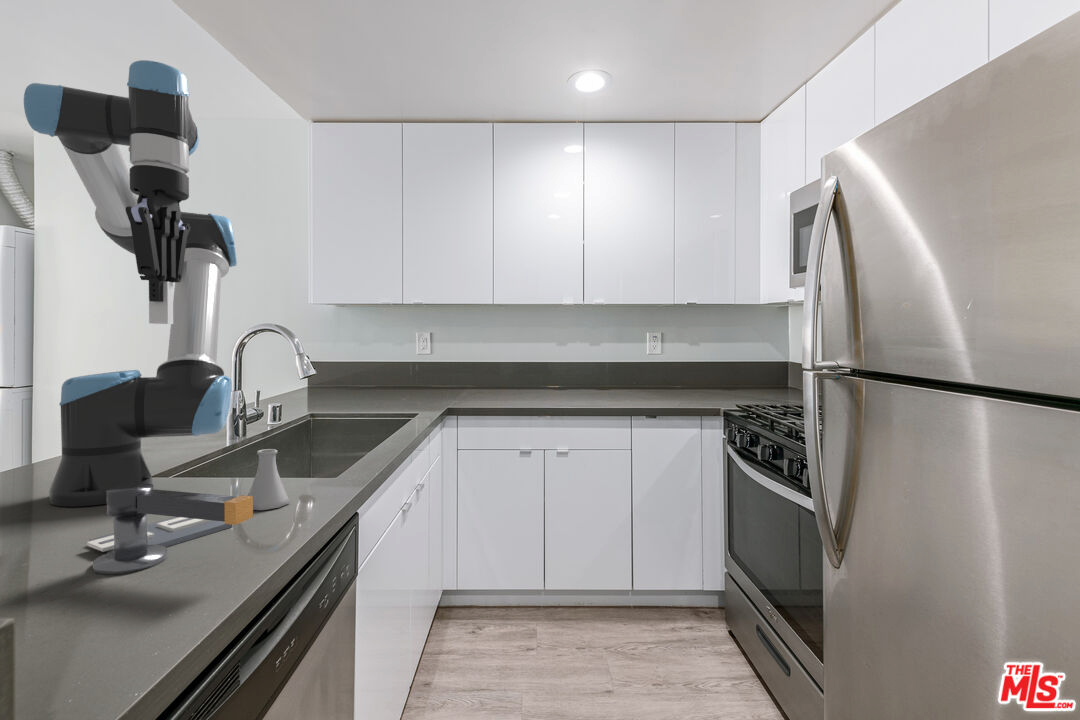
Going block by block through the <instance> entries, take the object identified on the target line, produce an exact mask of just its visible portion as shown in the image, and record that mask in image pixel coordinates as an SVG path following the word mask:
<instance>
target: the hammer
mask: <svg viewBox="0 0 1080 720" xmlns="http://www.w3.org/2000/svg"><path fill="white" fill-rule="evenodd" d="M141 513H143V514H147V515H154V516H166V517H172V518H173V517H183V518H193V519H203V520H213V521H223V522H225V524H231V525H232V526H236V525H237V526H238V524H241V523H244V522H246V521H249V520H250V519H253V518H254V510H253V496H248V495H244V494H242V495H239V496H233V495H232V496H231V495H223V494H222V495H221V494H210V493H198V492H189V491H188V492H187V491H176V490H165V489H154V485H153V483H152V484H145V483H140V484H128V485H122V486H117V487H114V488H111V489H109V490H107V504H106V516H109V517H113V518H114V517H122V516H131V515H137V514H141Z"/></svg>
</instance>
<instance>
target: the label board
mask: <svg viewBox="0 0 1080 720" xmlns="http://www.w3.org/2000/svg"><path fill="white" fill-rule="evenodd" d="M232 527H233V525H231V524H225V522H223V521H213V520H203V519H193V518H183V517H173V516H172V517H170V518H167V519H166V518H165V519H162V520H158V521H156V522H155V521H154V522H151V523H147V538H148V545H149V546H148V547H150V546H151V545H160V546H164V547H166V548H169V547H171V546H174V545H178V544H180V543H184V542H188V541H191V540H194V539H198V538H200V537H204V536H207V535H210V534H214V533H216V532H221V531H223V530H227V529H229V528H232ZM86 546H87V547H89V548H92V549H95V550H97V551H99V552H102V553H103V552H104V553H105V552H106V553H109V552H111V551H114V532H113V533H110V534H105V535H101V536H98V537H94V538H90V539H89V540H88V541H87V542H86Z"/></svg>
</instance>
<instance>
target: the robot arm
mask: <svg viewBox="0 0 1080 720" xmlns="http://www.w3.org/2000/svg"><path fill="white" fill-rule="evenodd" d="M187 79H188V78H187V77H186V75H185V74H184V73H183V72H181V70H179V69H178V68H175V67H173V66H171V65H169V64H166V63H163V62H159V61H153V60H142V59H141V60H136V61H133V62H132V63H131V64H130V66H129V68H128V78H127V80H128V81H127V84H126V86H127V89H128V97H126V96H120V95H115V94H107V93H102V92H96V91H92V90H91V91H90V90H85V89H81V88H80V89H79V88H74V87H68V86H64V85H60V84H58V85H55V84H47V83H40V82H38V83H37V82H33V83H30V84H28V85H27V86H26V88H25V90H24V95H23V108H24V113H25V114H24V115H25V118H26V120H27V123H28V125H29V126H30V128H31V129H32V130H33V131H34V132H37V133H38V134H42V135H48V136H50V137H52V138H53V137H58V139H59V141H60V143H61V145H62V146H63V149H64V151H65V152H66V154H67V156H68V158H69V159H70V162H71V163H72V166H73V167H74V169H75V170H76V173H77V175H78V177H79V178H80V180H81V182H82V184H83V186H84V187H85V190H86V191H87V193H88V194H89V198H90V199H91V201H92V202H93V204H94V206H95V210H94V211H95V212H94V213H95V214H94V215H95V220H96V222H97V224H98V225H99V227H100V229H101V230H102V232H103V233H104V234H105V235H106V236H107V237H108V238H109V240H111V241H113V243H115V244H116V245H117V246H119V247H120V248H122V249H124V250H126V251H127V252H128V253H130V254H133V255H134V257H135V263H136V268H137V272H138V274H139V278H140V280H141V281H148V322H149V324H151V325H152V324H156V325H170V329H169V332H170V333H169V340H168V350H167V360H166V361H164V362H162V363H160V364H159V366H158V367H157V369H156V375H155V376H151V377H147V376H146V377H145V376H144V377H143V376H142V373H141V372H140V370H138V369H132V370H131V369H130V370H121V371H110V372H103V373H102V372H101V373H95V374H93V373H92V374H87V375H80V376H74V377H71V378H68V379H66V380H65V381H64V382H63V383H62V385H61V392H60V393H61V394H60V402H59V404H58V405H59V406H60V430H61V431H60V434H61V440H60V441H61V460H60V462H59V465H58V468H57V470H56V473H55V476H54V477H53V480H52V483H51V485H50V487H49V504H51V505H52V506H58V507H71V508H72V507H90V506H100V505H107V490H109V489H111V488H114V487H117V486H122V485H128V484H140V483H145V484H152V485H153V477H152V474H151V472H150V469H149V466H148V464H147V462H146V460H145V457H144V456H143V452H142V439H145V438H163V437H165V438H166V437H170V438H171V437H184V436H185V437H186V436H187V437H188V436H191V437H192V436H194V437H198V436H202V435H212V434H216V433H220V432H222V430H223V429H224V427H225V425H226V422H227V420H228V416H229V412H230V407H231V406H230V405H231V400H232V399H231V397H232V392H233V391H232V389H233V384H232V378H231V377H230V376H227V375H225V370H224V368H223V367H222V366H220V365H219V364H218V363H217V358H218V356H217V355H218V341H219V340H218V339H219V338H218V337H219V324H220V323H219V321H220V320H219V319H220V305H221V304H220V301H221V282H222V278H224V277H225V276H226V275H227V274H228V273H229V271H230V268H232V267H236V266H237V265H238V264H237V263H238V262H237V255H236V254H237V253H236V246H235V245H236V244H235V237H234V231H233V224H232V221H231V220H230V219H229V218H228V217H227V216H224V215H217V214H212V213H208V214H203V213H197V212H196V213H195V212H185V211H181V206H180V203H181V202H182V201H186V200H188V199H189V198H190V178H189V176H188V175H187V173H189V172H190V156H192V155H193V154H194V152H195V151H196V150H197V148H198V146H199V141H200V139H199V133H198V132H199V129H198V127H197V126H196V123H195V122H194V120H193V116H192V113H191V110H190V108H189V107H190V105H189V97H190V93H189V85H188V80H187ZM119 145H120V146H128V152H129V163H130V164H131V165H132V166H131V167H130V168H129V169H128V167H127V165H126V163H125V159H124V157H123V154H122V153H121V150H120V147H119Z"/></svg>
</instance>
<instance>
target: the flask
mask: <svg viewBox="0 0 1080 720" xmlns="http://www.w3.org/2000/svg"><path fill="white" fill-rule="evenodd" d="M256 454H257V455H258V464H257V465H258V466H257V469H256V470H257V471H256V473H255V476H254V479H253V481H252V484H251V487H250V490H249V492H248V494H247V496H253V511H255V510H256V511H266V510H273V509H278V508H281V507H284V506H286V505H289V504H291V501H290V499H289V497H288V494H287V492H286V489H285V487H284V485H283V481H282V480H281V477H280V474H279V472H278V466H277V463H276V462H277V461H276V458H277V457H276V456H277V454H278V450H277V449H275V448H267V449H264V448H263V449H260V450H256Z"/></svg>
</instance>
